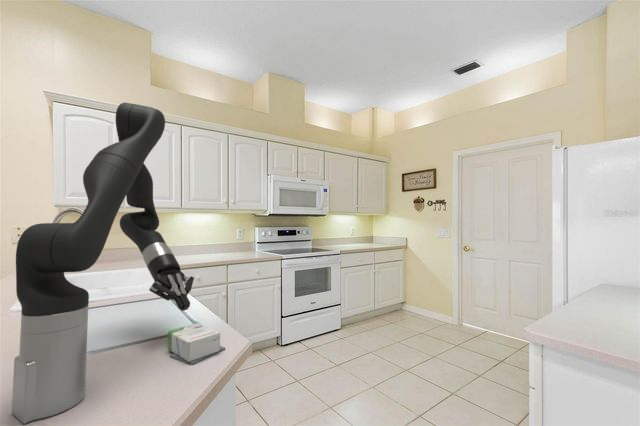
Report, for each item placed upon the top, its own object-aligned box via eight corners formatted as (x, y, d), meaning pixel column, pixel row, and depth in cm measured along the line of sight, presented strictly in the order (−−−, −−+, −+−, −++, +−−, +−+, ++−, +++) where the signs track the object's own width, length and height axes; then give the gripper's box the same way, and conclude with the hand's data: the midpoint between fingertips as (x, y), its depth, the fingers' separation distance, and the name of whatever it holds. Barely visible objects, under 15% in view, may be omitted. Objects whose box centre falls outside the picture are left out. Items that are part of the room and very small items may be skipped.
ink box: (166, 349, 75) (188, 363, 68) (167, 330, 76) (188, 341, 68) (198, 339, 82) (220, 351, 74) (198, 322, 82) (221, 331, 74)
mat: (192, 365, 68) (192, 363, 68) (169, 357, 72) (169, 355, 72) (225, 349, 77) (225, 347, 77) (203, 343, 81) (203, 341, 81)
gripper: (143, 254, 79) (169, 305, 72) (186, 251, 90) (212, 294, 84) (132, 272, 81) (156, 323, 74) (175, 267, 93) (200, 311, 86)
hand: (186, 308), depth 79 cm, fingers closed
